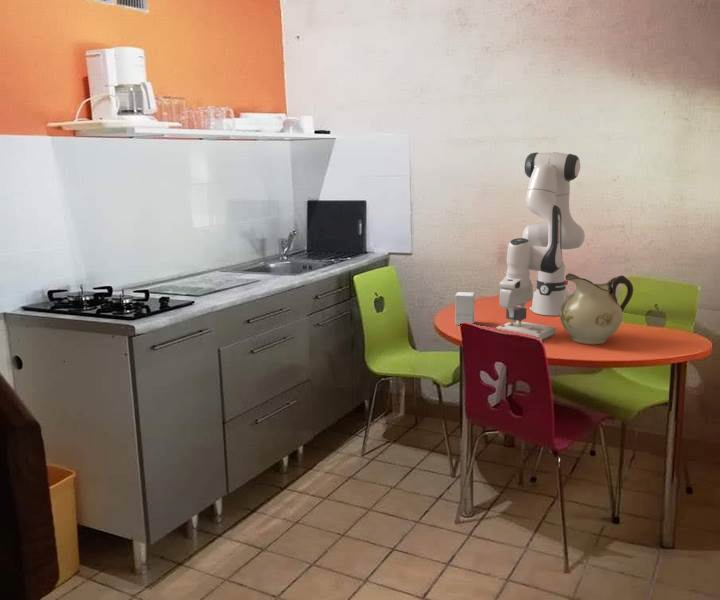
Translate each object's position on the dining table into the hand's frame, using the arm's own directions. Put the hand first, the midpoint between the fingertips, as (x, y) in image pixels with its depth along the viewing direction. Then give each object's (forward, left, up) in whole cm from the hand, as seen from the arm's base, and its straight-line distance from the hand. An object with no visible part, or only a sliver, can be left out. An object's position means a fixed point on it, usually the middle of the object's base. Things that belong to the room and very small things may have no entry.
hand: (516, 315), depth 276 cm
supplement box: (0, -24, -7) cm, 25 cm away
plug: (0, 0, -3) cm, 3 cm away
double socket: (0, +4, -7) cm, 8 cm away
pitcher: (-9, +26, -7) cm, 29 cm away
